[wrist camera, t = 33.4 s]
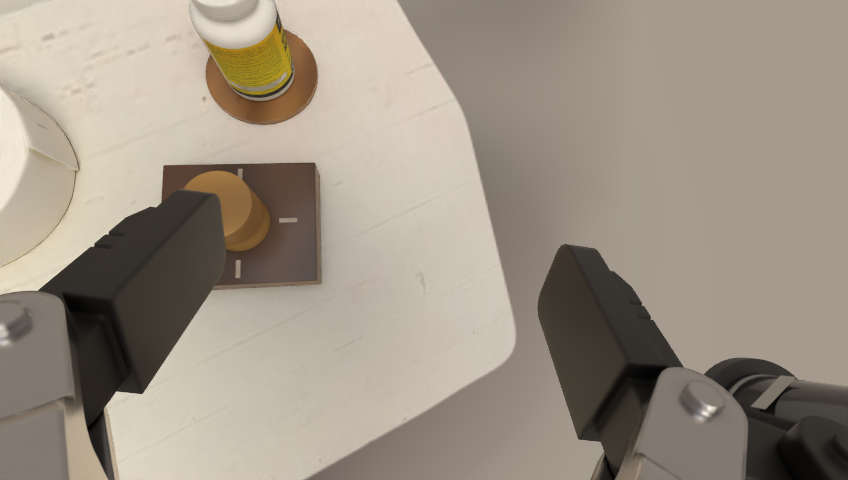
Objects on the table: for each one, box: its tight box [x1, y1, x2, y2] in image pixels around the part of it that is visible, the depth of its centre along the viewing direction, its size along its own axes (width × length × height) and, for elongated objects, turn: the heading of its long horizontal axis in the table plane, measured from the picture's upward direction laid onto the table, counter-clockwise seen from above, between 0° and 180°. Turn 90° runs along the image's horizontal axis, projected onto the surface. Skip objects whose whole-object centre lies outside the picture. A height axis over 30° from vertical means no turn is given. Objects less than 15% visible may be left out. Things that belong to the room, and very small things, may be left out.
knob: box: [184, 171, 270, 251], centre depth 31 cm, size 5×5×6 cm
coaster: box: [206, 29, 318, 124], centre depth 39 cm, size 10×10×1 cm
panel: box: [161, 163, 322, 290], centre depth 35 cm, size 12×10×3 cm
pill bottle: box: [189, 0, 295, 101], centre depth 33 cm, size 6×6×11 cm
